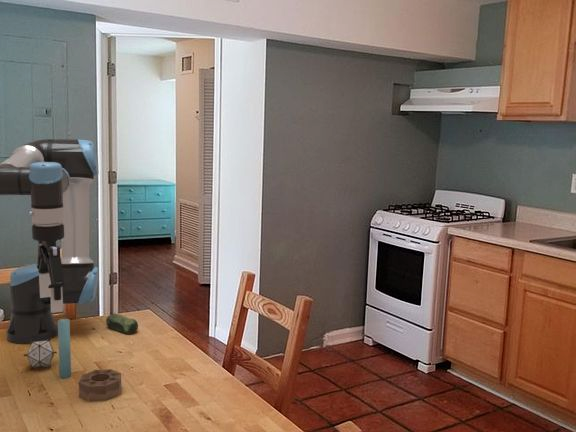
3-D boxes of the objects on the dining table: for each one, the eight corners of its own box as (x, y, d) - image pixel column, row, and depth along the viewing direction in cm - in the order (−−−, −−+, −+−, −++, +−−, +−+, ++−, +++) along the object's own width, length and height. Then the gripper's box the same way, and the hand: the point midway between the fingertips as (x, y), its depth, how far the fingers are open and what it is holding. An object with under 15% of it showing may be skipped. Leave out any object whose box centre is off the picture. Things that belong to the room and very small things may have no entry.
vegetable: (141, 332, 192) (141, 318, 192) (129, 337, 188) (129, 322, 187) (114, 323, 200) (114, 310, 199) (102, 327, 196) (101, 313, 195)
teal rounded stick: (60, 373, 158) (59, 318, 156) (72, 373, 159) (70, 318, 156) (58, 378, 155) (56, 322, 153) (70, 378, 156) (68, 322, 154)
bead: (84, 384, 152) (83, 370, 152) (122, 382, 154) (122, 368, 153) (76, 402, 143) (76, 387, 142) (118, 399, 144) (117, 385, 144)
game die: (44, 381, 162) (41, 363, 155) (19, 368, 163) (14, 349, 156) (64, 357, 168) (62, 338, 161) (40, 344, 169) (37, 326, 162)
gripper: (23, 217, 152) (26, 293, 155) (42, 233, 132) (46, 321, 135) (52, 215, 156) (55, 289, 160) (75, 231, 136) (78, 315, 139)
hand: (51, 304), depth 147 cm, fingers open, 13 cm apart
